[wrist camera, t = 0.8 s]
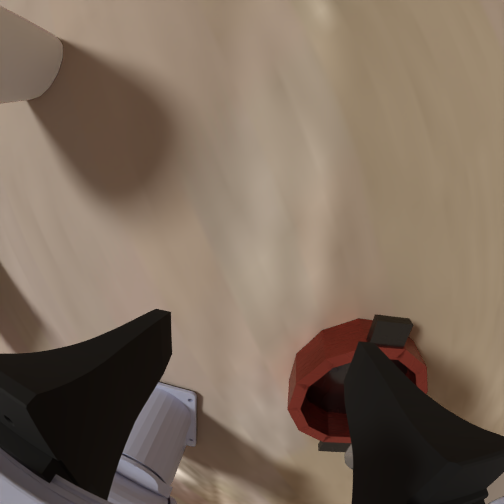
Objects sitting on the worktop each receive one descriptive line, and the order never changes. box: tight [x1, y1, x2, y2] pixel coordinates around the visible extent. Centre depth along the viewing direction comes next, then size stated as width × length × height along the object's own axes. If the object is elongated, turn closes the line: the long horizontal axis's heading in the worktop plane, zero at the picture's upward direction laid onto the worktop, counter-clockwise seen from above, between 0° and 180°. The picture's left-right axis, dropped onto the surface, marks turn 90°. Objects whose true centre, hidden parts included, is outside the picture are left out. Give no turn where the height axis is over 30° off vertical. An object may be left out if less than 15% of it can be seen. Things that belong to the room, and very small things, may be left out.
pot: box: [288, 315, 428, 452], centre depth 20 cm, size 14×11×4 cm
